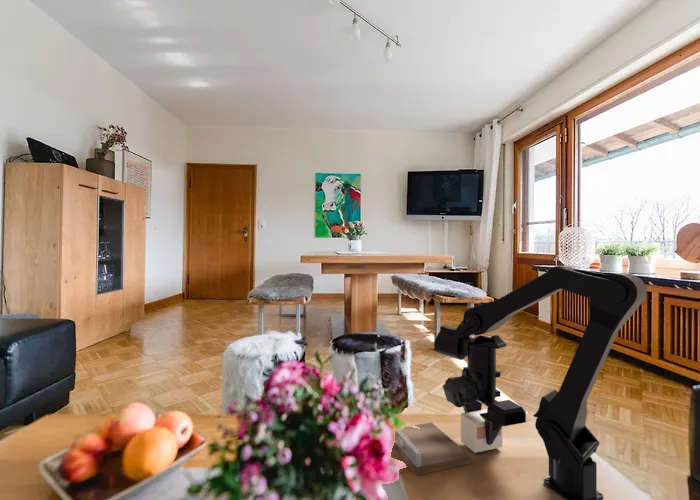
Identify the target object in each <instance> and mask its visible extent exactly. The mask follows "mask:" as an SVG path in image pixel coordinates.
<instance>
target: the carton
mask: <svg viewBox="0 0 700 500" xmlns="http://www.w3.org/2000/svg"><path fill="white" fill-rule="evenodd" d="M487 410H488V408H486V409H481V410H480V411H474V412H468V413H465V412H463V413H460V442H461V443H462V444H463V445H465V446H466V448H468V449H469V450H471V451H472V452H473V453H475V454H476V453H481V452H486V451H490V450H494V449H495V450H496V449H500V448H503V427H502V428H501V429H500V431H499V433H498V435H497V436H496V438H495V440H494V442H493V444H491V445H488V444H487V442H486V432H485V420H484V419H483V418H482V417H481V416H480V414H481V413H487Z"/></svg>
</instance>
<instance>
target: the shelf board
mask: <svg viewBox="0 0 700 500" xmlns="http://www.w3.org/2000/svg"><path fill="white" fill-rule="evenodd" d="M414 425H415V426H417V427H419V428H420V429H418V428H413V427H407V426H404V427H405V428H403V429H402V430H398V431H395V443H394V446H392V447H393V448H394V450H395V451H396V452H397V454H398V455H399V456H400V458H402V460H403V461H404V463H406V465H407V466H408V467H409V468H410V469H411V471H412V472H413V473H414V474H415V476H419V475H424V474H428V473H435V472H437V471H442V470H446V469H451V468H454V467H455V468H456V467H460V466H464V465H470V464H471V455H470V454H469V453H468V452H467V451H465V449H464V448H462V447H461V446H459V444H457V443H456V442H455V441H454V440H452V439H451V437H449V436H448V435H447V434H446V433H445V432H444V431H443V430H441V429H440V428H439V427H438V426H436V425H435V424H434V423H433V422H432V421H431V422H425V423H420V424H414Z"/></svg>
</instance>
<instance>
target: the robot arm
mask: <svg viewBox="0 0 700 500" xmlns="http://www.w3.org/2000/svg"><path fill="white" fill-rule="evenodd" d="M562 290H565V291H568V292H570V293H573V294H576V295H578V296H581V297H584V298H589V302H588V323H587V325H586V327H585V330H584V332H583V334H582V336H581V338H580V341H579V344H578V346H577V348H576V349H575V350H576V351H575V353H574V355H573V358H572V360H571V362H570V364H569V367H568V369H567V371H566V374H565V376H564V378H563V381H562V383H561V385H560V388H559V390H558V391H557V390H556V389H553V390H552V391H550V392H548V393H546V394H545V395H543V396H541V398H540V401H539V406H538V410H536V412H535V413H534V414H533V415H532V416H533V418H536V420H535V423H534V424H535V429H536V431H537V434H538V435H539V437H540V439H542V442H543V445H544V446H545V449H546V454H547V456H548V477H545V478H543V483H544V484H545V485H546V486H548V487H549V488H550V489H552V490H554V491H555V492H556V493H557V494H559V496H561V497H563V498H564V499H565V500H603V499H604V494H603V493H601V492H600V491H599V490H597V489H598V488H597V487H598V486H597V485H598V484H597V483H598V482H597V480H598V477H597V465H598V464H597V462H596V461H595V460H593V458H592V457H591V456H592V455H593V454H594V453H596V452H597V451H598V448H599V446H600V444H601V443H600V441H599V440H598V439H597V438H596V436H595V435H594V434H593V433H592V432H591V431H590V429H589V428H588V427H587V426H586V421H587V415H588V398H589V397H590V394H591V392H592V390H593V388H594V387H595V386H594V385H595V384H596V381H597V379H598V377H599V375H600V372H601V370H602V368H603V366H604V364H605V362H606V360H607V357H608V355H609V353H610V351H611V348H612V346H613V343H614V341H616V338H617V335H618V333H619V331H620V330H621V328H622V327H623V326H624V325H625V324H626V323H627V322H628V320H629V319H630V318H631V317H632V315H634V314H635V312H636V311H637V310H638V309H639V307H640V306H641V304H642V303H643V302H644V301H645V299H646V297H647V294H648V288H647V286H646V284H645V283H644V281H643V279H641V278H640V277H638V276H637V275H634V274H632V273H629V272H617V273H607V274H605V273H601V272H593V271H589V270H583V269H580V268H579V269H578V268H573V267H571V266H568V265H557V266H553V267H550V268H549V269H548V270H547V271H546V272H544V273H543V274H541V275H539V276H537V277H535V278H534V279H532V280H530V281H528V282H526V283H525V284H523V285H521V286H519V287H518V288H516V289H514V290H512V291H510V292H509V293H507V294H505V295H503V296H501V297H500V298H498V299H495V300H492V301H489V302H486V303H481V304H479V305H475V306H472V307H470V308H467V309H466V310H465V311H464V312H463V318H462V321H461V322H460V323H459V325H458V326H457V327H452V326H450V325H442V326H440V329H439V330H440V331H438V333H437V334H436V338H435V340H434V349H435V352H436V353H437V354H439V355H442V356H446V357H449V358H453V359H456V360H464V359H465V358H466V357H467V366H464V367H463V368H462V370H461V375H460V376H453V377H448V378H447V379H446V381H445V382H444V383H445V384H443V385H442V389H443V392H444V395H445V398H446V401H447V402H448V403H449V402H450V403H451V404H453V405H454V407H456V408H462V407H463V411H464V413H468V412H474V411H480V410H482V407H483V405H484V406H486V407H487V409H488V410H487V413H481V414H480V416H481V417H482V418H483V419H484V420H485V432H486V442H487V444H488V445H491V444H493V442H494V440H495V438H496V436H497V435H498V433H499V431H500V429H501V428H502V429H503V427H508V426H509V427H510V426H513V425H518V424H519V425H520V424H524V423H526V422H527V415H526V414H527V411H526V409H524V407H523V406H522V405H519V404H518V403H516V402H514V401H512V400H510V399H507V400H501V401H498V400H496V398H498V397H499V398H500V397H501V391H500V390H498V389H497V378H500V377H501V371H499V370H497V350H499V349H500V350H501V349H503V348H505V347H507V345H508V343H506V342H505V341H504V340H503V339H502V338H501V337H500V335H499V334H495V335H492V336H491V337H490V336H485V335H483V334H488V333H492V332H495V331H497V330H499V328H501V327H502V326H504V325H505V324H506V323H507V322H508V321H509V320H510V319H511V318H512V317H513V316H514V315H516V314H518V313H519V312H521V311H523V310H526V309H527V308H529V307H531V306H533V305H535V304H537V303H539V302H541V301H543V300H545V299H547V298H549V297H550V296H553V295H554V294H557V293H559V292H561V291H562ZM473 335H474V336H475V337H471V336H473ZM476 336H477V337H476Z"/></svg>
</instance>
